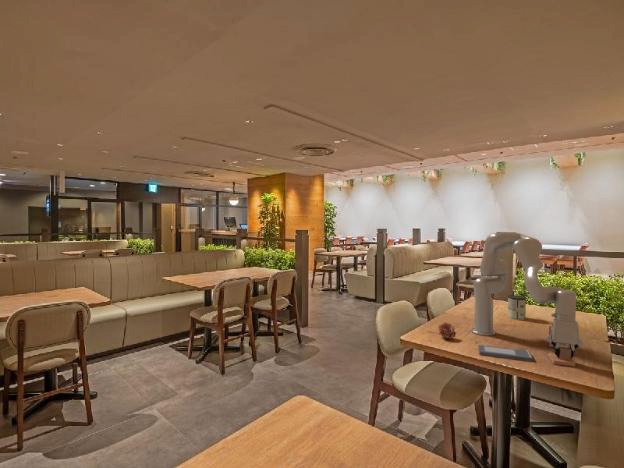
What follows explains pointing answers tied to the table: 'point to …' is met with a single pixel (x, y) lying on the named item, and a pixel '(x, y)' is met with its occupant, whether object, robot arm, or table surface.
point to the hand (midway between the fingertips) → (563, 356)
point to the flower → (447, 330)
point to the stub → (562, 357)
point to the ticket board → (505, 353)
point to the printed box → (552, 340)
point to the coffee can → (516, 307)
